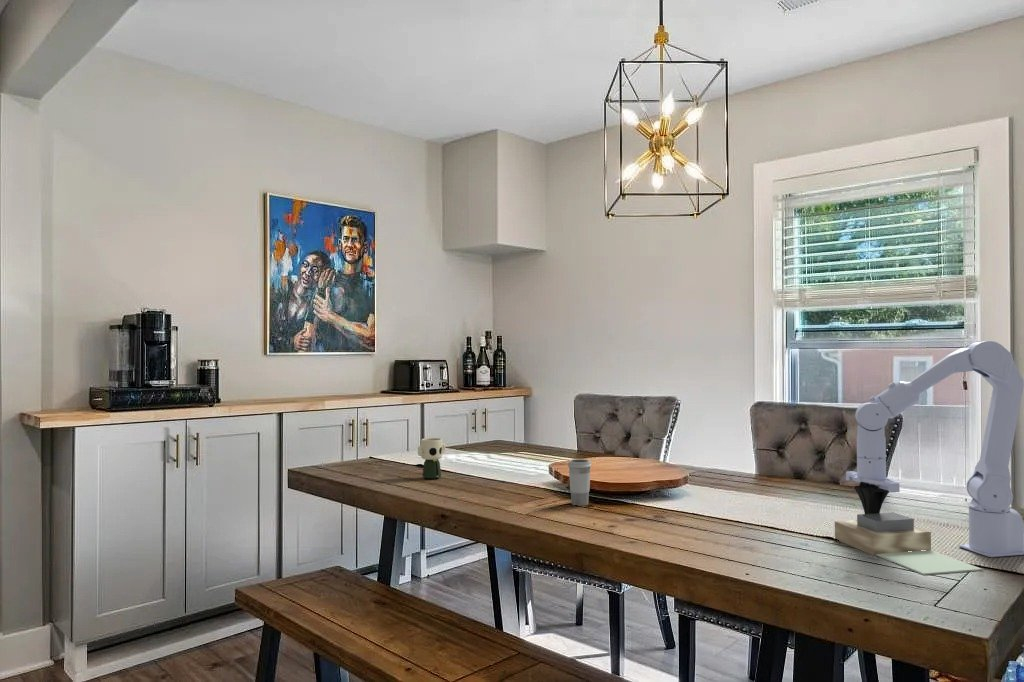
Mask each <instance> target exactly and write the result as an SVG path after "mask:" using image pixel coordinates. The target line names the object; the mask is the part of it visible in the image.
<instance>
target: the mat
mask: <svg viewBox="0 0 1024 682" xmlns="http://www.w3.org/2000/svg"><path fill="white" fill-rule="evenodd" d="M875 556H877V557H879V558H881V559H884V560H887V561H889V562H891V563H893V562H894V564H896V563H897V564H896V565H898V564H899V566H901V567H903V568H905V567H906V569H908V570H910V569H911V571H913V572H915V573H917V574H920V575H923V576H927V575H940V574H951V573H952V574H953V573H954V574H955V573H968V572H976V571H983V568H981V567H978V566H975V565H973V564H970V563H967V562H964V561H962V560H959V559H956V558H954V557H951V556H949V555H946V554H943V553H940V552H937V551H934V550H932V549H931V550H926V551H912V552H898V553H885V554H876V555H875Z"/></svg>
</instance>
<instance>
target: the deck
mask: <svg viewBox="0 0 1024 682" xmlns="http://www.w3.org/2000/svg"><path fill="white" fill-rule="evenodd" d="M835 538H836V539H838V540H839V541H838V540H837V541H838V542H841V543H843V544H845V545H848V546H850V547H852V548H855V549H858V550H860V551H863V552H865V553H867V554H869V555H872V556H877V555H876V554H885V553H898V552H908V551H921V550H932V532H931V531H930V530H927V529H924V528H920V527H918V526H915V525H914V530H910V531H894V532H878V533H876V532H874V531H871V530H868V529H866V528H863V527H860V526H857V519H853V520H852V519H850V520H837V521H836V520H835V521H834V539H835Z"/></svg>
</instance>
